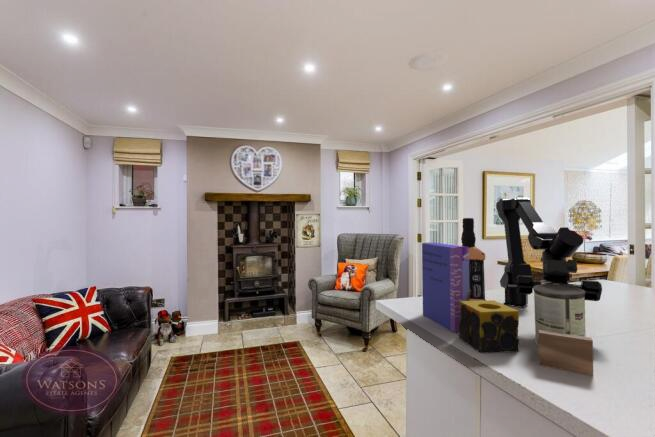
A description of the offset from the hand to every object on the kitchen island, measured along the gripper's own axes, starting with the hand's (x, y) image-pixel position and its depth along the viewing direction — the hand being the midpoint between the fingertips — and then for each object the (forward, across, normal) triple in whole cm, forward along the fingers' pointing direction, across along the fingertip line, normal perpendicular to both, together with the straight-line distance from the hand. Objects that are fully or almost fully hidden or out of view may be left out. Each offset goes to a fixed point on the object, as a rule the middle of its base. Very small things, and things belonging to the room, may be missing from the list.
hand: (558, 314), depth 82 cm
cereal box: (+5, -28, +5) cm, 29 cm away
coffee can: (+8, 0, +1) cm, 8 cm away
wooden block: (+15, 0, -6) cm, 17 cm away
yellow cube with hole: (+14, -15, -4) cm, 21 cm away
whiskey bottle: (-10, -24, +20) cm, 33 cm away
